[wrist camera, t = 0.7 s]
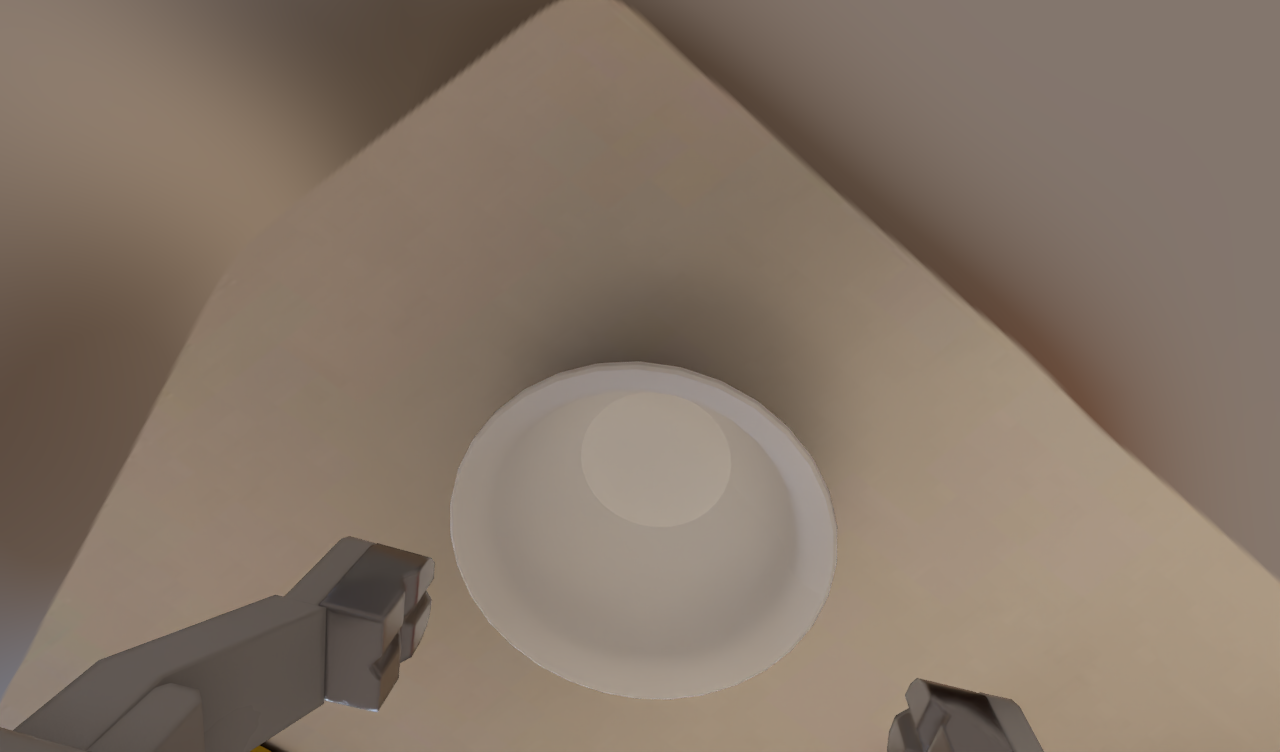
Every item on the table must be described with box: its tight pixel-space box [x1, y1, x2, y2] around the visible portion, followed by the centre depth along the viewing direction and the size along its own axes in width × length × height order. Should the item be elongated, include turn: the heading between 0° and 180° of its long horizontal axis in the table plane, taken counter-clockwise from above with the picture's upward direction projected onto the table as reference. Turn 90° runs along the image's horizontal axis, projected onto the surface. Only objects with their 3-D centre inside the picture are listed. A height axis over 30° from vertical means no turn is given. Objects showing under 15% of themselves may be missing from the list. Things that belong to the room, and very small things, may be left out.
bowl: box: [450, 361, 837, 700], centre depth 30 cm, size 16×16×9 cm
